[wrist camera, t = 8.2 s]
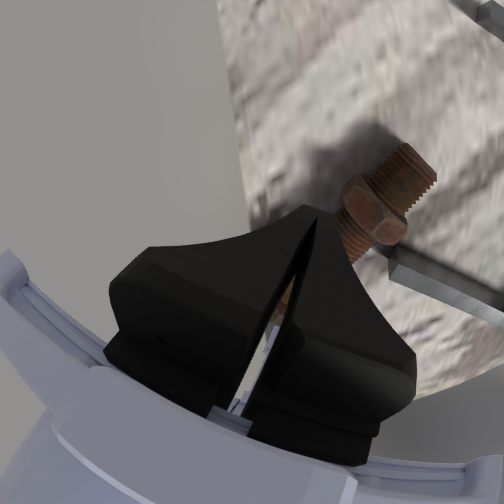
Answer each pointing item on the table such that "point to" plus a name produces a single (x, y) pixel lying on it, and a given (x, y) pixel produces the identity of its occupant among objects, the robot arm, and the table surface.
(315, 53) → the table surface
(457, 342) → the table surface
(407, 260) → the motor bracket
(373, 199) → the bolt
